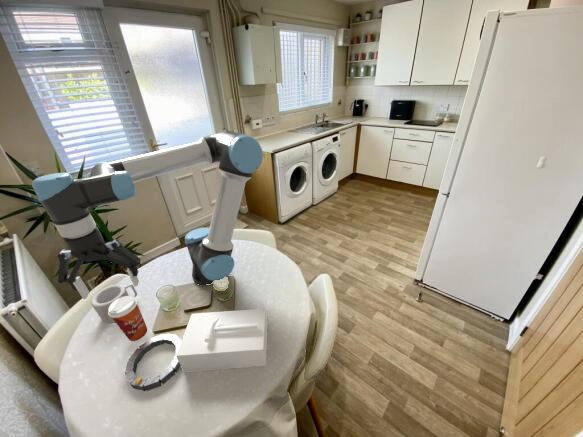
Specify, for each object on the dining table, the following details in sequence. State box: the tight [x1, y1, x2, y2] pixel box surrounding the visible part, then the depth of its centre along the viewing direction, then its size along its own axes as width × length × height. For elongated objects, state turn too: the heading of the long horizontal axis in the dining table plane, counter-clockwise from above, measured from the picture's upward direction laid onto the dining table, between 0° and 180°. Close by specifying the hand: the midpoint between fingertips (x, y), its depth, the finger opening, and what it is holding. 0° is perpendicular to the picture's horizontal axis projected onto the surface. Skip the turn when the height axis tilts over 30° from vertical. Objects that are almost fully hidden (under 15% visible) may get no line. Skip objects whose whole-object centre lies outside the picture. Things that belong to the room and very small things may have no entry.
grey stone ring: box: [124, 333, 182, 392], centre depth 75 cm, size 16×16×3 cm
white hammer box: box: [175, 308, 269, 373], centre depth 77 cm, size 14×25×11 cm, turn 93°
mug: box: [90, 284, 138, 325], centre depth 92 cm, size 14×11×10 cm
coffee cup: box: [108, 295, 148, 342], centre depth 81 cm, size 8×8×15 cm
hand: (112, 289), depth 74 cm, fingers open, 13 cm apart
